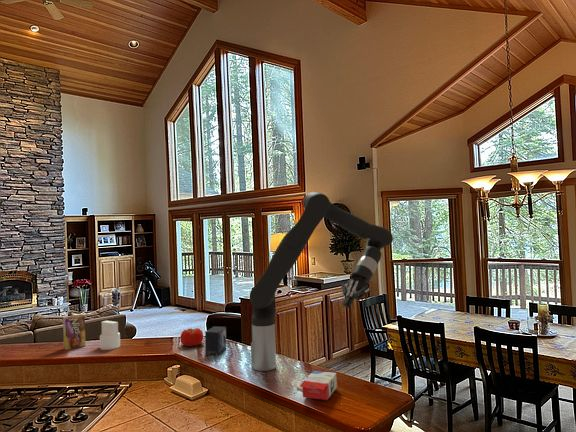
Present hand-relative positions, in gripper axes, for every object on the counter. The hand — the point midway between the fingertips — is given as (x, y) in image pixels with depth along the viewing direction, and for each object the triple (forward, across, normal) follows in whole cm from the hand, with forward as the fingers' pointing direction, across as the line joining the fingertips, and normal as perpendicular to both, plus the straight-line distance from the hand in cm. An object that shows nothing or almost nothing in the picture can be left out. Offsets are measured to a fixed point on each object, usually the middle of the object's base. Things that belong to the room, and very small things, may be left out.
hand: (345, 306), depth 157 cm
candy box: (+59, -122, -21) cm, 137 cm away
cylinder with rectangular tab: (+50, -109, -13) cm, 121 cm away
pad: (+31, 0, +5) cm, 31 cm away
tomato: (+30, -81, +7) cm, 87 cm away
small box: (+30, -62, +7) cm, 69 cm away
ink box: (+26, +2, +6) cm, 27 cm away
